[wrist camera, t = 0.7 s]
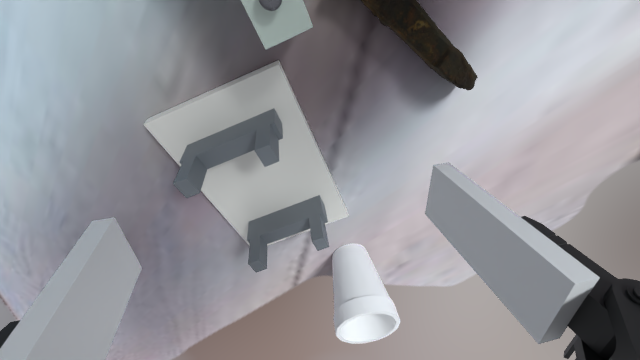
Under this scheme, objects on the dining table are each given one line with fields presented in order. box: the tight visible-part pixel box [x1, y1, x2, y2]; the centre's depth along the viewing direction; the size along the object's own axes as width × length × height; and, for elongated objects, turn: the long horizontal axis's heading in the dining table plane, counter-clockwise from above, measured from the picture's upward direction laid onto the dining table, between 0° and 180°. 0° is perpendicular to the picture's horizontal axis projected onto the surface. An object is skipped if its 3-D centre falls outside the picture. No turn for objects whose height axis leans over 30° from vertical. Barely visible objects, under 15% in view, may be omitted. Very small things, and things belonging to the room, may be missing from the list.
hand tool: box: [361, 0, 477, 90], centre depth 28 cm, size 19×4×5 cm, turn 49°
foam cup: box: [332, 243, 400, 343], centre depth 47 cm, size 10×9×13 cm
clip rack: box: [143, 60, 349, 272], centre depth 35 cm, size 16×24×9 cm, turn 21°
